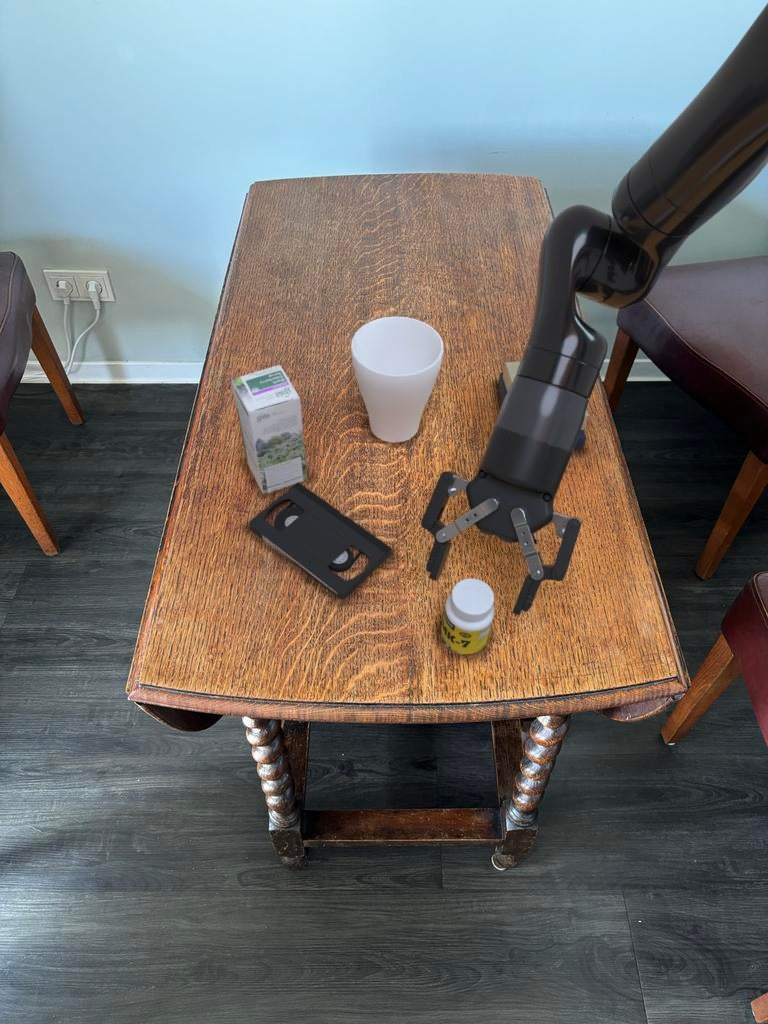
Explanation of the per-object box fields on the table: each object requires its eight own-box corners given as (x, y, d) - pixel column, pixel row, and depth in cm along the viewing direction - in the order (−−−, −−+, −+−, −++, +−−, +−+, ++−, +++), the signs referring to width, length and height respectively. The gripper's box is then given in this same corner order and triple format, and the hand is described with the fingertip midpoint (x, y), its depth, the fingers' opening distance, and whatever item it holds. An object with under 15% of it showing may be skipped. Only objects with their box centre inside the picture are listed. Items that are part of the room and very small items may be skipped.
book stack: (580, 454, 90) (591, 423, 85) (508, 455, 90) (515, 423, 85) (563, 388, 97) (572, 356, 93) (497, 389, 97) (503, 357, 93)
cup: (350, 402, 95) (347, 317, 84) (429, 398, 96) (437, 313, 85) (355, 462, 88) (353, 378, 78) (440, 457, 89) (450, 373, 78)
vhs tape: (249, 533, 82) (247, 522, 80) (299, 492, 85) (297, 482, 84) (342, 605, 76) (341, 595, 74) (391, 558, 80) (391, 548, 78)
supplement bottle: (430, 638, 74) (436, 596, 67) (459, 609, 76) (468, 565, 69) (467, 668, 72) (477, 627, 65) (496, 637, 74) (508, 594, 67)
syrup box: (291, 451, 89) (279, 360, 78) (309, 484, 86) (300, 394, 75) (247, 466, 88) (228, 375, 76) (264, 501, 85) (247, 411, 73)
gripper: (454, 407, 65) (396, 573, 68) (610, 460, 61) (542, 634, 64) (470, 413, 72) (417, 563, 75) (609, 460, 68) (549, 616, 71)
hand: (474, 595), depth 69 cm, fingers open, 8 cm apart
